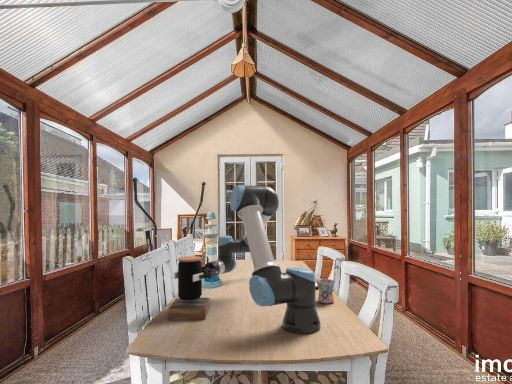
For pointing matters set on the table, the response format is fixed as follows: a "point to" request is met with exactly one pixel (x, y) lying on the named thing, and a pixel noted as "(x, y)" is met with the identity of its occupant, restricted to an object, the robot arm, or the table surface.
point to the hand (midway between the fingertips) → (183, 277)
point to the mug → (325, 290)
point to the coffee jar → (189, 277)
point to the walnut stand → (189, 309)
